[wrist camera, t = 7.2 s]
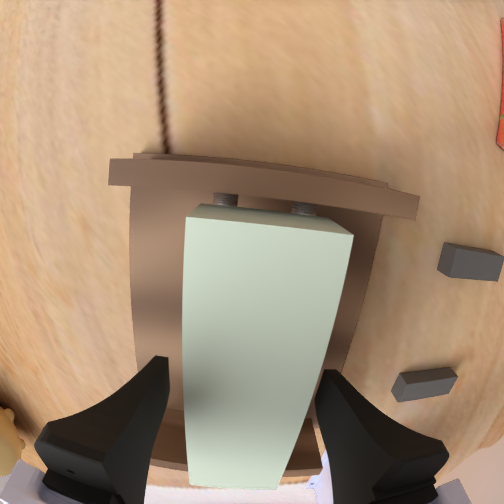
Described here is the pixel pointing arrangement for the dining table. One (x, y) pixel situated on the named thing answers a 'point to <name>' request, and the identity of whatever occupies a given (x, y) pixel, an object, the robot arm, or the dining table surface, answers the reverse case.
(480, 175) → the dining table surface
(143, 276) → the walnut carcass
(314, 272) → the shelf plank
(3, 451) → the yellow animal figurine
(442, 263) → the block
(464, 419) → the dining table surface
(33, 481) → the robot arm
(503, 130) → the cracker box
